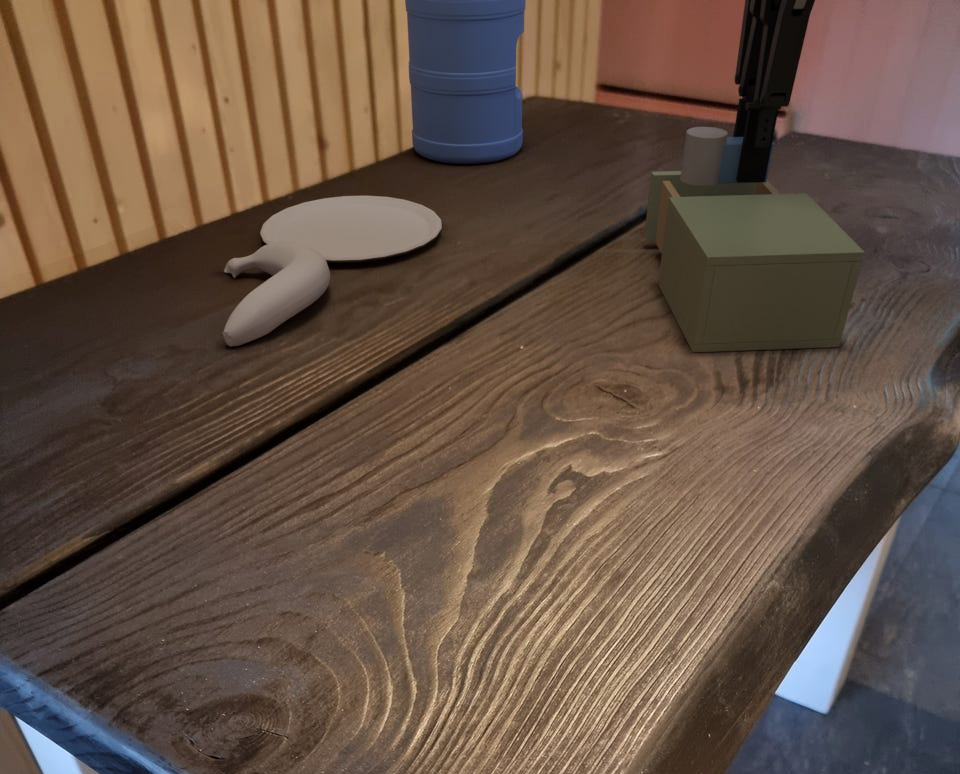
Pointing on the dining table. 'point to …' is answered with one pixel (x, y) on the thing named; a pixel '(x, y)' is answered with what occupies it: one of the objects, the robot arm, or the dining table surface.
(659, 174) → the drawer
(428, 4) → the water jug
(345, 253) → the plate
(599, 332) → the dining table surface
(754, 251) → the cabinet
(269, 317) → the banana
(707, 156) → the cylinder with blue block
